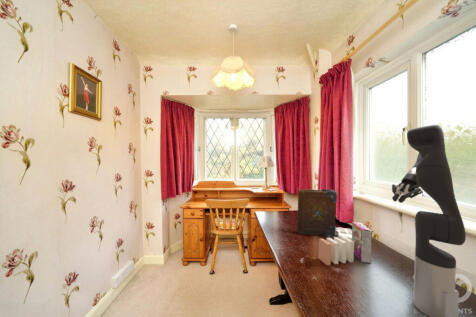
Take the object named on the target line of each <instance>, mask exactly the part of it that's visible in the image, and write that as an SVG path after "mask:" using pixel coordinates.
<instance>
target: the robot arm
mask: <svg viewBox="0 0 476 317" xmlns="http://www.w3.org/2000/svg"><path fill="white" fill-rule="evenodd" d="M444 135H445V134H444V130H443V128H442V126H440V124H429V125H428V124H427V125H423V126H419V127H414V128H410V129H409V130H407V133H406V138H407V142H408V145H409V146H410V147H411V148H413V149H414V151H417V152H418V154H417V157H416V161H415V162H414V164H413V166H412V167H411V168H410V169H409V170H408V172H406V173H405V175H404V177H403V178H402V179H401V181H400V183H398V184H392V185H391V191H392V193H393V196H392V198H391V199H392V201H393V202H397V201H398V203H400V204H402V203H404V202H405V201H406V199H408V198H410V199H413V198H416V197H417V196H419V195H421V194H423V192H425V194H426V195H427V196H429V197H430V198H432V200H434V202H435V203H436V204H437V206H438V207H439V208H440V210H441V213H440V212H439V213H437V212H433V211H425V210H419V211H417V212H416V214H415V219H414V228H415V250H414V251H415V252H414V276H413V277H414V278H413V305H414V306H415V308H416V309H417V310H419V311H420V312H421V313H422V314H424V315H426V316H428V317H459V301H460V300H459V298H460V292H459V290H457V289H456V277H457V276H456V274H457V273H456V272H457V260H456V257H454V255H452V254H451V253H450V252H447V251H445V250H443V249H441V248H439V247H437V246H436V245H434V244H432V243H431V242H430V241H435V242H438V243H443V244H444V243H445V244H448V245H453V246H462V245H464V244H465V242H466V238H467V234H466V228H465V224H464V220H463V218H462V215H461V212H460V209H459V205H458V203H457V200H456V199H457V198H456V195H455V191H454V190H455V189H454V183H453V178H452V173H451V169H450V165H449V164H450V163H449V162H448V158H447V153H446V143H445V136H444Z"/></svg>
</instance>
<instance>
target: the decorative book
mask: <svg viewBox="0 0 476 317" xmlns="http://www.w3.org/2000/svg"><path fill="white" fill-rule="evenodd" d="M297 192H298V193H297V217H296V218H297V222H296V233H298V234H300V235H307V236H308V235H309V236H321V237H326V238H334V237H336V235H335V232H336V228H337V227H336V208H337V207H336V206H337V204H336V203H337V202H338V201H337V200H338V192H337V191H336V190H333V189H327V188H326V189H324V188H323V189H322V188H321V189H303V188H302V189H301V188H300V189H298V191H297Z"/></svg>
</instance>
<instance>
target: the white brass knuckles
mask: <svg viewBox="0 0 476 317" xmlns="http://www.w3.org/2000/svg"><path fill="white" fill-rule="evenodd" d="M335 236H336V237H338V238H340V239H341V237H346V238H348V239H350V240H352V228H344V227H336V232H335Z"/></svg>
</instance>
